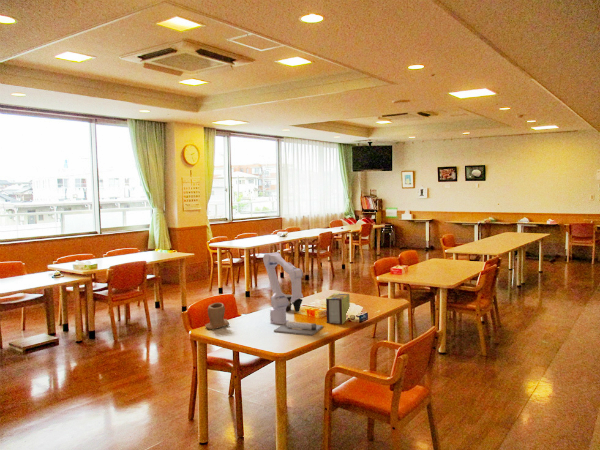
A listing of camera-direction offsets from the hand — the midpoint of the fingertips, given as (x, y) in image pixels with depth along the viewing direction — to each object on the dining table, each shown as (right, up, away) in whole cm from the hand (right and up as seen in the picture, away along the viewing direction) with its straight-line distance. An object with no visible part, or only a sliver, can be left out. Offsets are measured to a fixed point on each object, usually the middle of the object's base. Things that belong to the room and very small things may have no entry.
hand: (297, 311), depth 300 cm
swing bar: (+2, -9, -4) cm, 10 cm away
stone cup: (-48, -11, +8) cm, 50 cm away
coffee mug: (-6, -7, +45) cm, 46 cm away
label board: (+1, -10, -2) cm, 10 cm away
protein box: (+26, -8, +15) cm, 31 cm away
